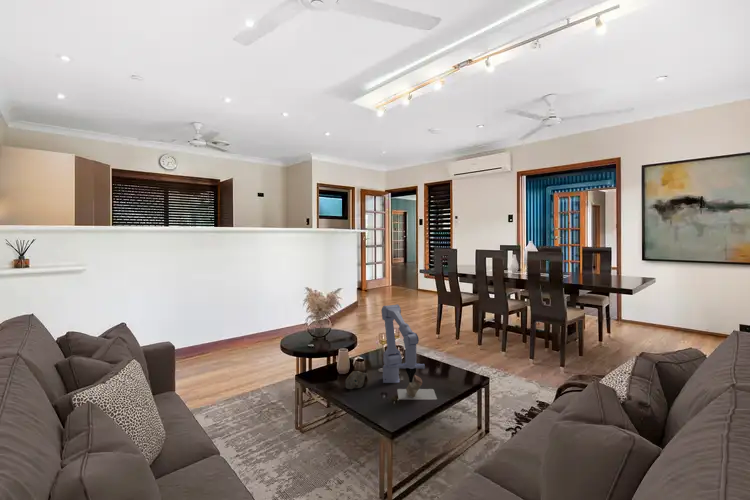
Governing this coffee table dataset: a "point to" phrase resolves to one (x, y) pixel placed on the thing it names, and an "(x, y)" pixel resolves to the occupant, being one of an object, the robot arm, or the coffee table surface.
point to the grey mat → (417, 395)
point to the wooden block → (414, 386)
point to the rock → (355, 380)
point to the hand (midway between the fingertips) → (410, 381)
